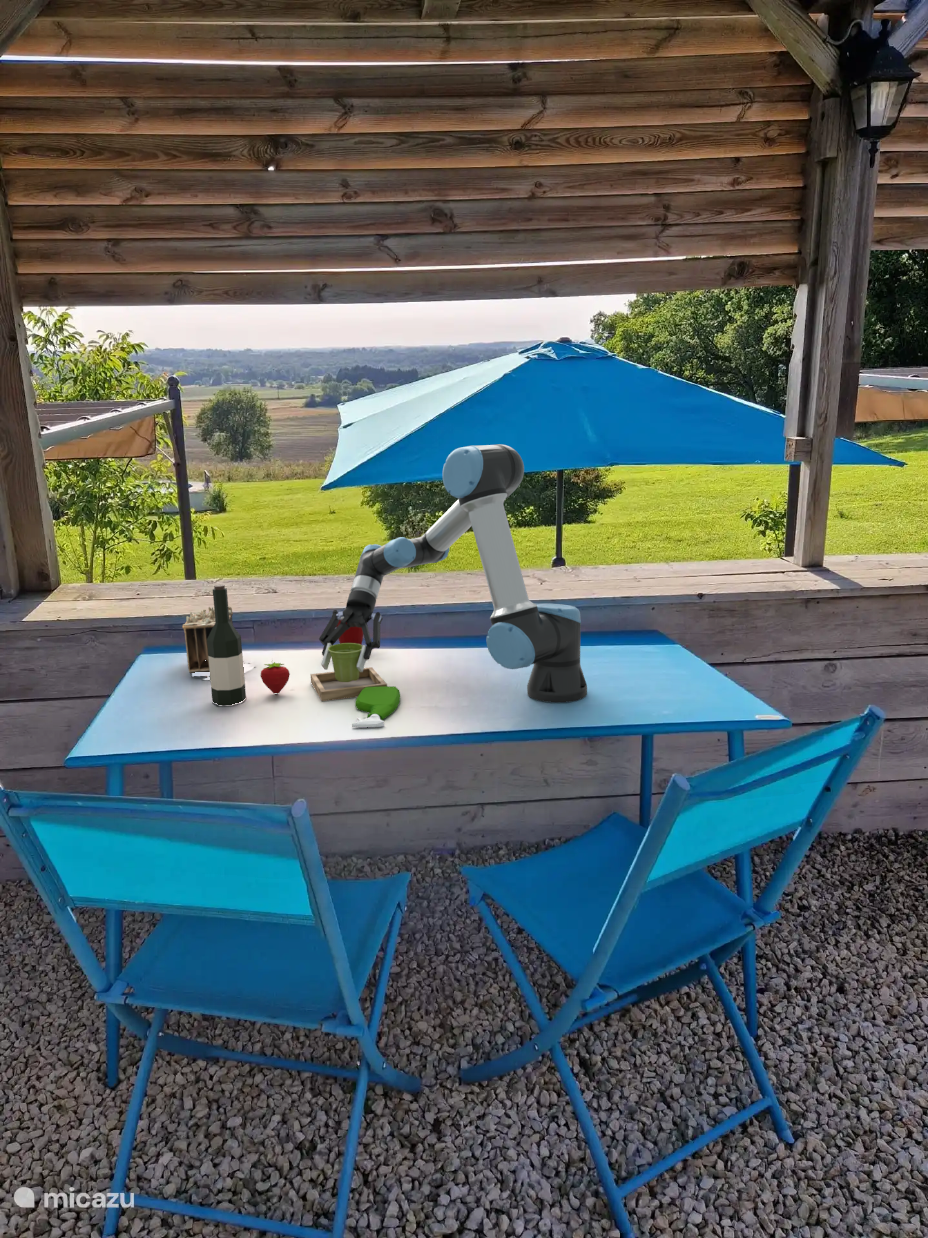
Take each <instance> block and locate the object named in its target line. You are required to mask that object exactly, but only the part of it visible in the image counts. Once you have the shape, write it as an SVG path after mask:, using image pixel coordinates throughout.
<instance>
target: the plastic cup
mask: <svg viewBox="0 0 928 1238" xmlns="http://www.w3.org/2000/svg"><path fill="white" fill-rule="evenodd" d="M343 618H344V616H343V617H342V618H341V620H342V619H343ZM341 620H339V623H338V625H339V624H340V623H341ZM346 624H347V622H346ZM338 625H337V626H338ZM337 626H336V628H337ZM336 628H335V629H336ZM363 639H364V635H363V631H362V627H361V628H360V627H350V628H349V629H348V630H346V631H345V632H344V633H343V634H342V635H341V637H340V638H339V639H338V642H339V643H338V644H341V643H356V644H361V645H363Z"/></svg>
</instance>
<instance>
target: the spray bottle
mask: <svg viewBox="0 0 928 1238" xmlns="http://www.w3.org/2000/svg"><path fill="white" fill-rule="evenodd" d="M400 702H401V691H400V689H398V687H397V686H388V685H387V686H385V687H365V688H364V689H363V690H362V691H361V693H360V694H359V695H358V697H356V699H355V701H354V703H355V704H354V705H355V708H356V709H357V710H358V711H361V712H363V713H368V715H367V717H366V718H364V719H362V718H360V717H356V720H357V722H351V728H358V729H365V728H366V729H367V727H368V728H380V727H385V721H384V719H386V718H387V717H389V716H390V715H391V714H393V713H394V712H395V711H396V710H397V709H398V708H399V705H400Z"/></svg>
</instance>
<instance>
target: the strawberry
mask: <svg viewBox="0 0 928 1238" xmlns="http://www.w3.org/2000/svg"><path fill="white" fill-rule="evenodd" d="M263 665H264V666H266V667H263V668H262V670H261V671H260V678H261V680H262V683H263V684H264V685H265V686H266V687H267V689H269V690H270V691H271V692H272V693H273V694H274V693H279V694H280V693H281V691H282V690H283V689H284V688H285V686H286V685H287V684H288V682H289V679H290V675H291V673H290V670H289V668H287V667H285V663H281V662H275V661H274V662H271V663H264V664H263Z"/></svg>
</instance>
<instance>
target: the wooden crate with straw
mask: <svg viewBox="0 0 928 1238" xmlns="http://www.w3.org/2000/svg"><path fill="white" fill-rule="evenodd" d="M228 609H229V621H230V622H231V624H232V625H233V626H234V623H233V616H234V611H233V609H232V607H231V606H229V605H228ZM185 617H186V619H185V620H186V622H185V623H183V624H182V630H183V632H184V640H185V649H186V650H185V651H186V660H187V666H188V673H189V674H191V673H195V672H210V669H209V658H208V647H207V638H208V636H209V634H210V632H211V630H212V628H213V626H214V624H215V611H214V606H212V607H210V606H208V612H207V610H206V609H203V610H201V611H199V612H197V613H195V612H191V611H190V612H189V616H188V615H187V616H185ZM205 660H206V661H205Z"/></svg>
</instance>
